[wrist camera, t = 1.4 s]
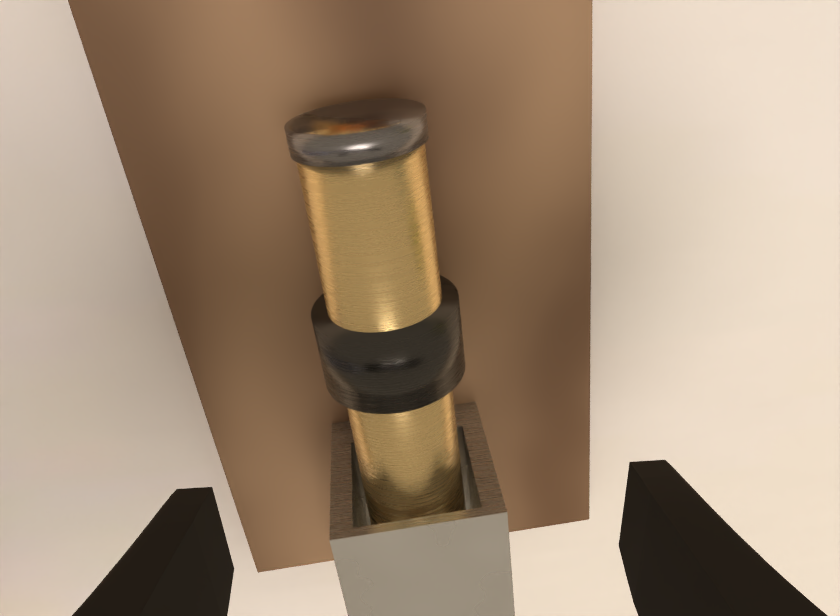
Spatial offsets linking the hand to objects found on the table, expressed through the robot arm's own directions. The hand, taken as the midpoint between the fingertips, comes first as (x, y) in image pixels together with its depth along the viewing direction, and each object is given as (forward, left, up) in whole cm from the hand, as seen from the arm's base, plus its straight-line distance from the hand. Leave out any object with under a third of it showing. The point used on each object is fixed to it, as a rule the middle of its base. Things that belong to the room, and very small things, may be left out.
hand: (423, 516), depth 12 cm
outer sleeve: (0, -7, -9) cm, 11 cm away
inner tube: (0, -2, -8) cm, 8 cm away
